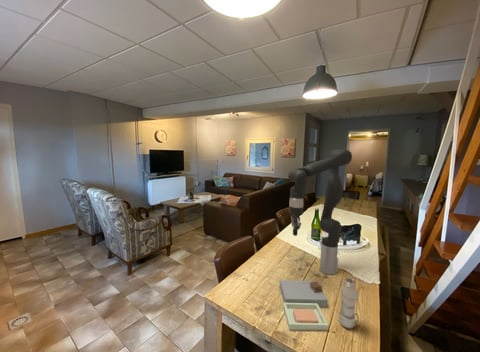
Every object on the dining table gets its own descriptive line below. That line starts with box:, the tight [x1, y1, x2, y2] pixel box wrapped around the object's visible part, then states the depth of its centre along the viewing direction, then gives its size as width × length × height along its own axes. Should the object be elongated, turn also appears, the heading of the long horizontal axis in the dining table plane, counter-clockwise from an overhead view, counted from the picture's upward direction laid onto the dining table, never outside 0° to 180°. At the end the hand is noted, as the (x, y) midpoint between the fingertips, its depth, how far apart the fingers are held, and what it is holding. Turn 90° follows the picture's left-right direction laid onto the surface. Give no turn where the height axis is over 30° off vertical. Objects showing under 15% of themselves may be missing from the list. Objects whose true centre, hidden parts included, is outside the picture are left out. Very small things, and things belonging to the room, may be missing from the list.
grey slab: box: [279, 279, 329, 308], centre depth 101 cm, size 20×14×4 cm
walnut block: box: [310, 280, 323, 293], centre depth 100 cm, size 4×4×3 cm
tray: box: [282, 301, 329, 332], centre depth 88 cm, size 16×12×2 cm
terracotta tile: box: [293, 309, 318, 323], centre depth 86 cm, size 9×6×3 cm, turn 90°
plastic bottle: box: [338, 277, 359, 329], centre depth 84 cm, size 6×7×20 cm
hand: (295, 235), depth 112 cm, fingers closed
